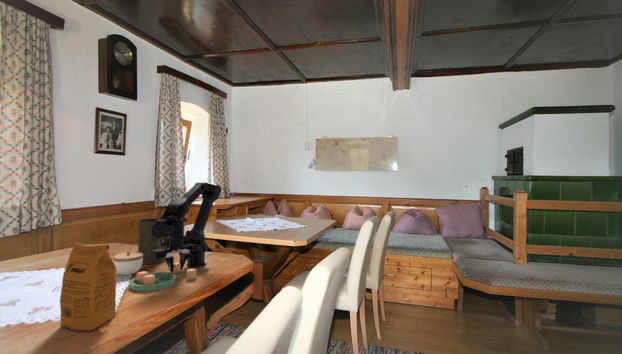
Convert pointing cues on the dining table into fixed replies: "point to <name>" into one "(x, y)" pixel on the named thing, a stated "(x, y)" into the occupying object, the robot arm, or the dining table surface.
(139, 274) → the bead
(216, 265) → the dining table surface
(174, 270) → the bead
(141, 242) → the beer stein
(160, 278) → the ring tray
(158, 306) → the dining table surface
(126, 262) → the lidded jar
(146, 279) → the bead
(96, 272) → the coffee package
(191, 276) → the bead
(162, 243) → the robot arm
